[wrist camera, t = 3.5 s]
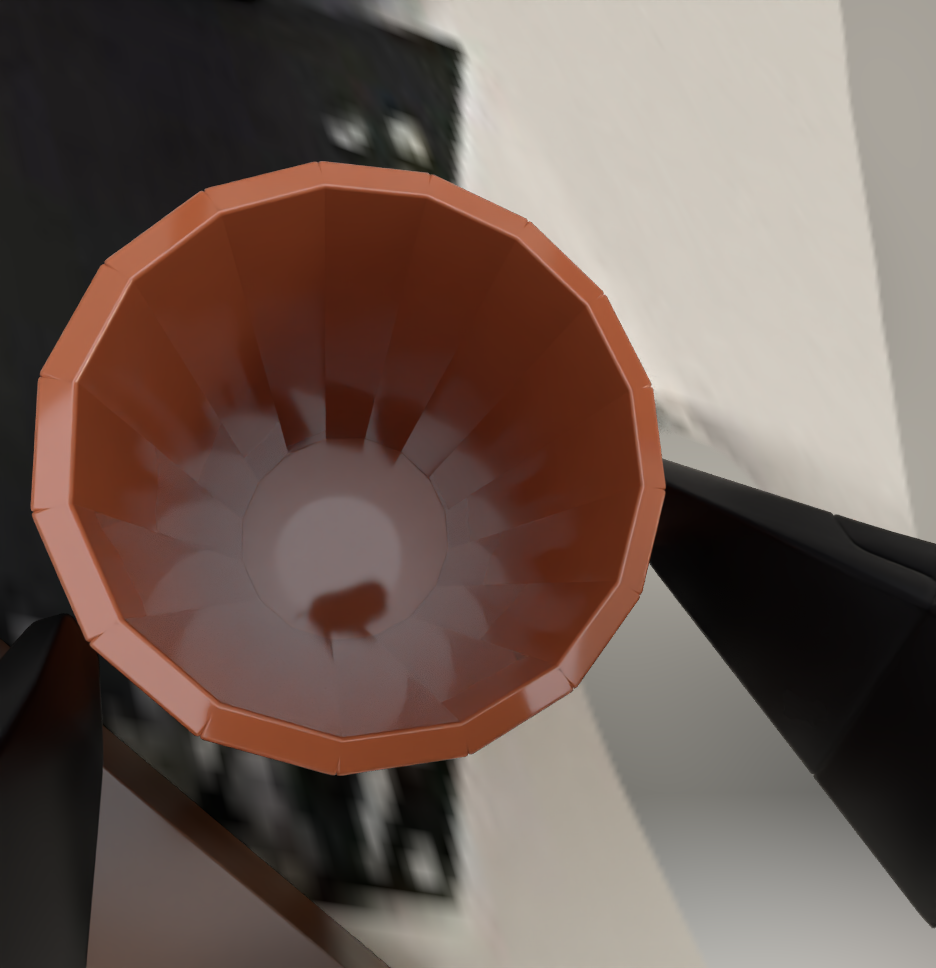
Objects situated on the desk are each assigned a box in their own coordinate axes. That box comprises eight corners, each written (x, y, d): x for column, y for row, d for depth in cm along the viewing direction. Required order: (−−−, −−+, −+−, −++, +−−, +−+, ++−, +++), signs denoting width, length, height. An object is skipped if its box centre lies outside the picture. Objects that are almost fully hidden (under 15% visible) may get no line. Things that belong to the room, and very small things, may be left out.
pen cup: (493, 529, 19) (755, 436, 7) (353, 696, 17) (413, 924, 5) (342, 391, 18) (371, 64, 7) (181, 545, 16) (-151, 444, 5)
